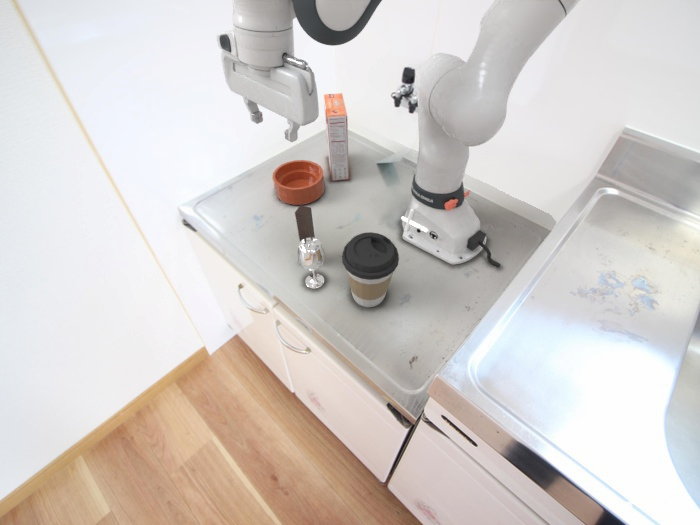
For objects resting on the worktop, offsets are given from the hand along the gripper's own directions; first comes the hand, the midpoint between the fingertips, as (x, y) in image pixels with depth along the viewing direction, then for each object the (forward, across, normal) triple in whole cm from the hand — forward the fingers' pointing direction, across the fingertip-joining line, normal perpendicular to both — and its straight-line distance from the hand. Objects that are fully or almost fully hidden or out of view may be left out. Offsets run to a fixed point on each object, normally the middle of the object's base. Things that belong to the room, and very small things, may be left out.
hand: (273, 130), depth 64 cm
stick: (+31, -8, -1) cm, 32 cm away
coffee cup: (+30, -25, -2) cm, 39 cm away
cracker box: (+30, +14, -36) cm, 49 cm away
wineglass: (+31, -13, +3) cm, 34 cm away
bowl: (+31, +15, -20) cm, 39 cm away
